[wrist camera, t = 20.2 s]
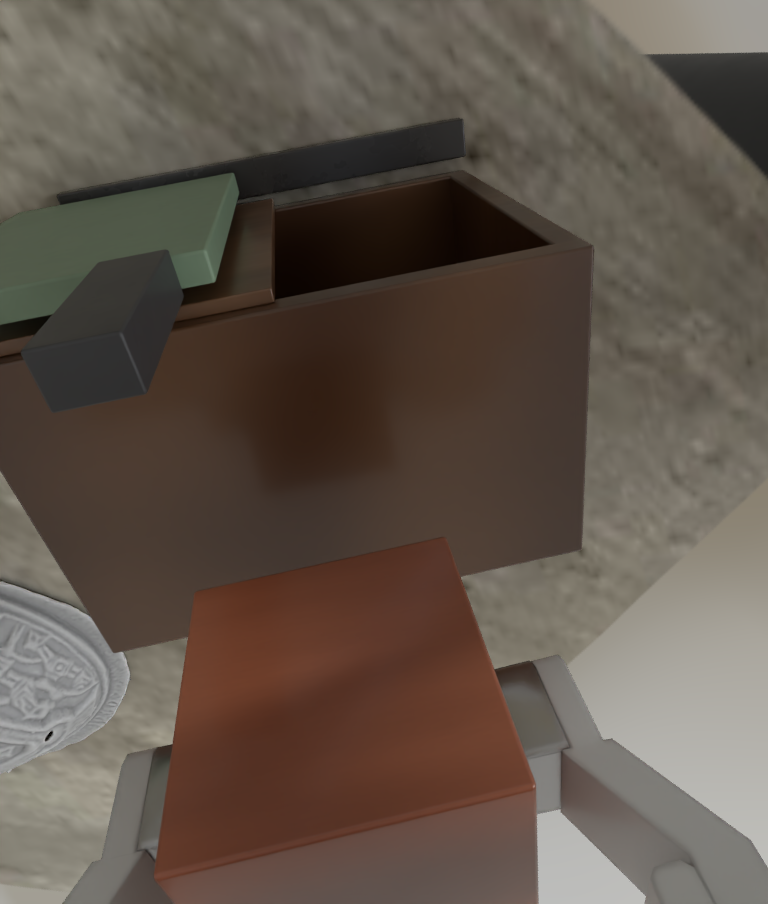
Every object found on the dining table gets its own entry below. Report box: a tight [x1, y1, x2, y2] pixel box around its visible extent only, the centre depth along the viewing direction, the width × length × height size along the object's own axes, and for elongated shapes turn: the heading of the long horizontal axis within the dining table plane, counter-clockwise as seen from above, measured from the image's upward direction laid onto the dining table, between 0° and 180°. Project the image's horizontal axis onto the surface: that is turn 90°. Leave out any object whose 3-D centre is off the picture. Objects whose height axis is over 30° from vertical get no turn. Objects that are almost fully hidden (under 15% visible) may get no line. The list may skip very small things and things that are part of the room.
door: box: [0, 173, 239, 413], centre depth 14 cm, size 7×1×14 cm, turn 99°
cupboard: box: [0, 118, 594, 653], centre depth 19 cm, size 14×11×11 cm
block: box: [154, 537, 538, 904], centre depth 10 cm, size 5×5×5 cm
